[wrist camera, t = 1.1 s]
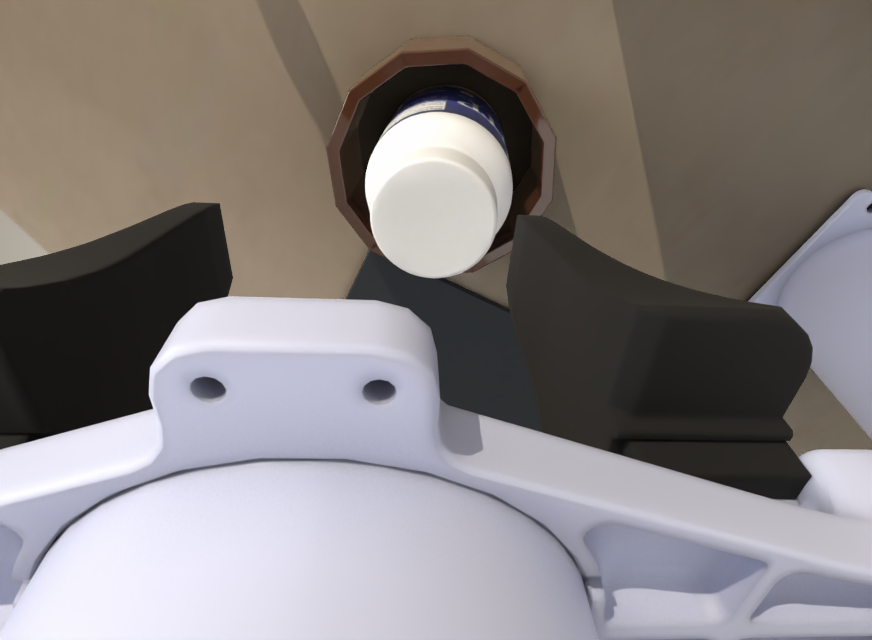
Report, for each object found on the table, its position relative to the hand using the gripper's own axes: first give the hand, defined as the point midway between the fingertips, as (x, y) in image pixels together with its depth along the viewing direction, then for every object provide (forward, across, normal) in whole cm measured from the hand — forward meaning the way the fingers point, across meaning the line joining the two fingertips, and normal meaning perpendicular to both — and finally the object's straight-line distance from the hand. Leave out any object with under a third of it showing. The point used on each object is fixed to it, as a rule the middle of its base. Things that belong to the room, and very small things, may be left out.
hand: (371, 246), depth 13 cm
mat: (+12, -5, +14) cm, 19 cm away
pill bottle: (+12, -3, +1) cm, 13 cm away
